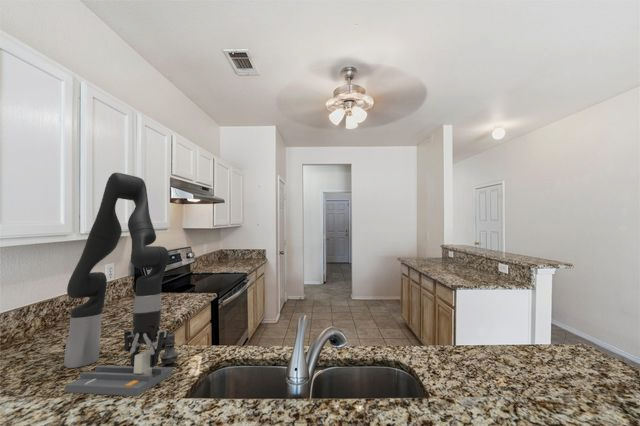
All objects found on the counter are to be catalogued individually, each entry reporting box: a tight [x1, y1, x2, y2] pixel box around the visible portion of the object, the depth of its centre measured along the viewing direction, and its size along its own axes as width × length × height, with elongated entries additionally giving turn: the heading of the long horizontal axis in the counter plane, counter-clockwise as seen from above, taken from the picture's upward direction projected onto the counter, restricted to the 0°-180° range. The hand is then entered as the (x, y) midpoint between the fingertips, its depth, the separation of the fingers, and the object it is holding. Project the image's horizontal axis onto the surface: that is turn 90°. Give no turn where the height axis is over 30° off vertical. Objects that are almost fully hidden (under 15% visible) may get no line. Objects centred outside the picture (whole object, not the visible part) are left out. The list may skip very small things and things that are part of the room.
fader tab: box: [134, 349, 152, 374], centre depth 84 cm, size 3×5×7 cm, turn 171°
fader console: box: [64, 364, 174, 397], centre depth 84 cm, size 24×14×4 cm, turn 81°
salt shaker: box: [159, 329, 179, 368], centre depth 96 cm, size 6×6×12 cm
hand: (144, 365), depth 83 cm, fingers open, 6 cm apart
